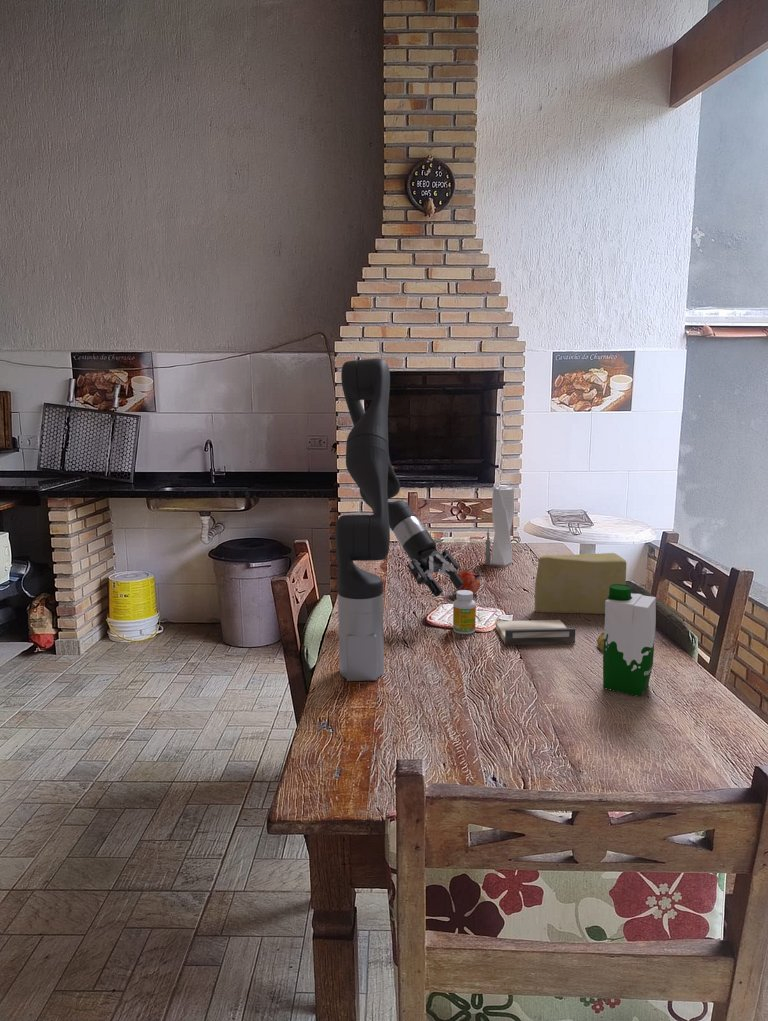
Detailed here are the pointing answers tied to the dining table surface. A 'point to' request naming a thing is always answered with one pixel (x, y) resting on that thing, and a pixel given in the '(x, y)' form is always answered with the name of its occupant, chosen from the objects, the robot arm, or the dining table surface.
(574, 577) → the cheese
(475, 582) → the pomegranate
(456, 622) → the supplement bottle
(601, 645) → the pastry
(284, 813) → the dining table surface
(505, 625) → the shelf board
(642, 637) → the milk carton
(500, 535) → the skyscraper
